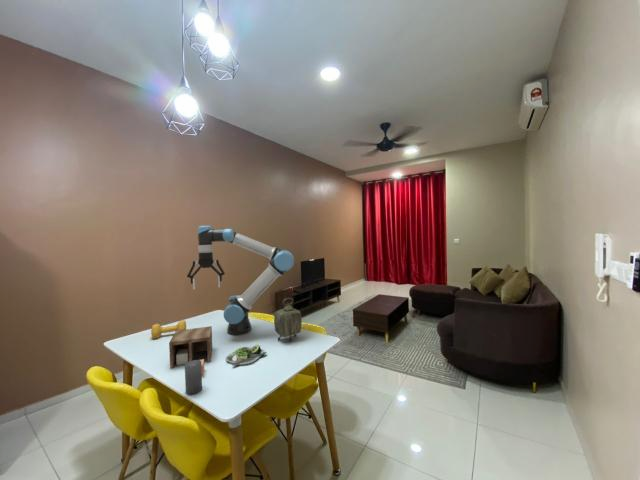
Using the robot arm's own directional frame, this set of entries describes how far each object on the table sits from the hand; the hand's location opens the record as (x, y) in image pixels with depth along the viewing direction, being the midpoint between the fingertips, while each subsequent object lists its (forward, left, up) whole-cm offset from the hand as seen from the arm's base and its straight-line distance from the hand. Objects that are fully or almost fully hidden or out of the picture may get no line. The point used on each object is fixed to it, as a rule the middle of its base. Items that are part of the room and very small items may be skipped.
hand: (206, 288), depth 153 cm
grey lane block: (+10, +22, -32) cm, 40 cm away
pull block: (+2, +44, -32) cm, 55 cm away
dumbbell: (+24, -19, -32) cm, 44 cm away
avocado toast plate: (-20, +29, -32) cm, 48 cm away
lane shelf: (+6, +20, -32) cm, 38 cm away
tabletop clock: (-45, +17, -32) cm, 58 cm away
